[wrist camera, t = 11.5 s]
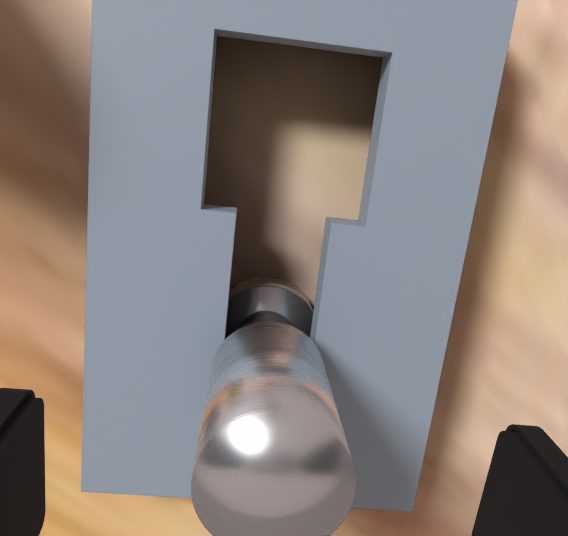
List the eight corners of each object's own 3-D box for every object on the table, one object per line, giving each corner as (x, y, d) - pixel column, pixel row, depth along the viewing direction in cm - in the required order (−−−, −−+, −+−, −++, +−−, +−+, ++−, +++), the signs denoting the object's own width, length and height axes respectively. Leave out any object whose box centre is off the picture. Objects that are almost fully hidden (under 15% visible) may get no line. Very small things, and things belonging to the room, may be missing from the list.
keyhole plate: (124, -45, 18) (94, -85, 14) (474, 5, 19) (522, -22, 15) (106, 437, 22) (81, 491, 19) (390, 456, 23) (412, 511, 20)
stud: (218, 271, 20) (188, 397, 11) (321, 281, 21) (378, 413, 11) (210, 367, 21) (175, 559, 12) (308, 374, 22) (350, 568, 12)
